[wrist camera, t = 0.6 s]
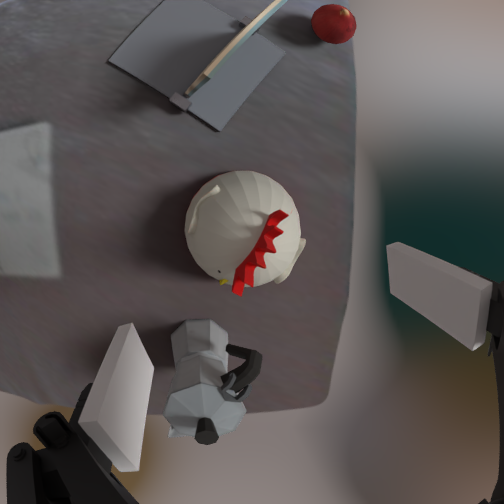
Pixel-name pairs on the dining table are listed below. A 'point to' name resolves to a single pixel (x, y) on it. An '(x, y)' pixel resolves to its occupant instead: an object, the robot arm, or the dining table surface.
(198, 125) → the dining table surface
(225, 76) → the base plate
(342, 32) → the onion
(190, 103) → the hinge blocks
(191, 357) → the coffee maker
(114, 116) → the dining table surface
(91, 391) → the robot arm
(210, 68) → the flap
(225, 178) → the kitchen timer
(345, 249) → the dining table surface
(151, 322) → the dining table surface
